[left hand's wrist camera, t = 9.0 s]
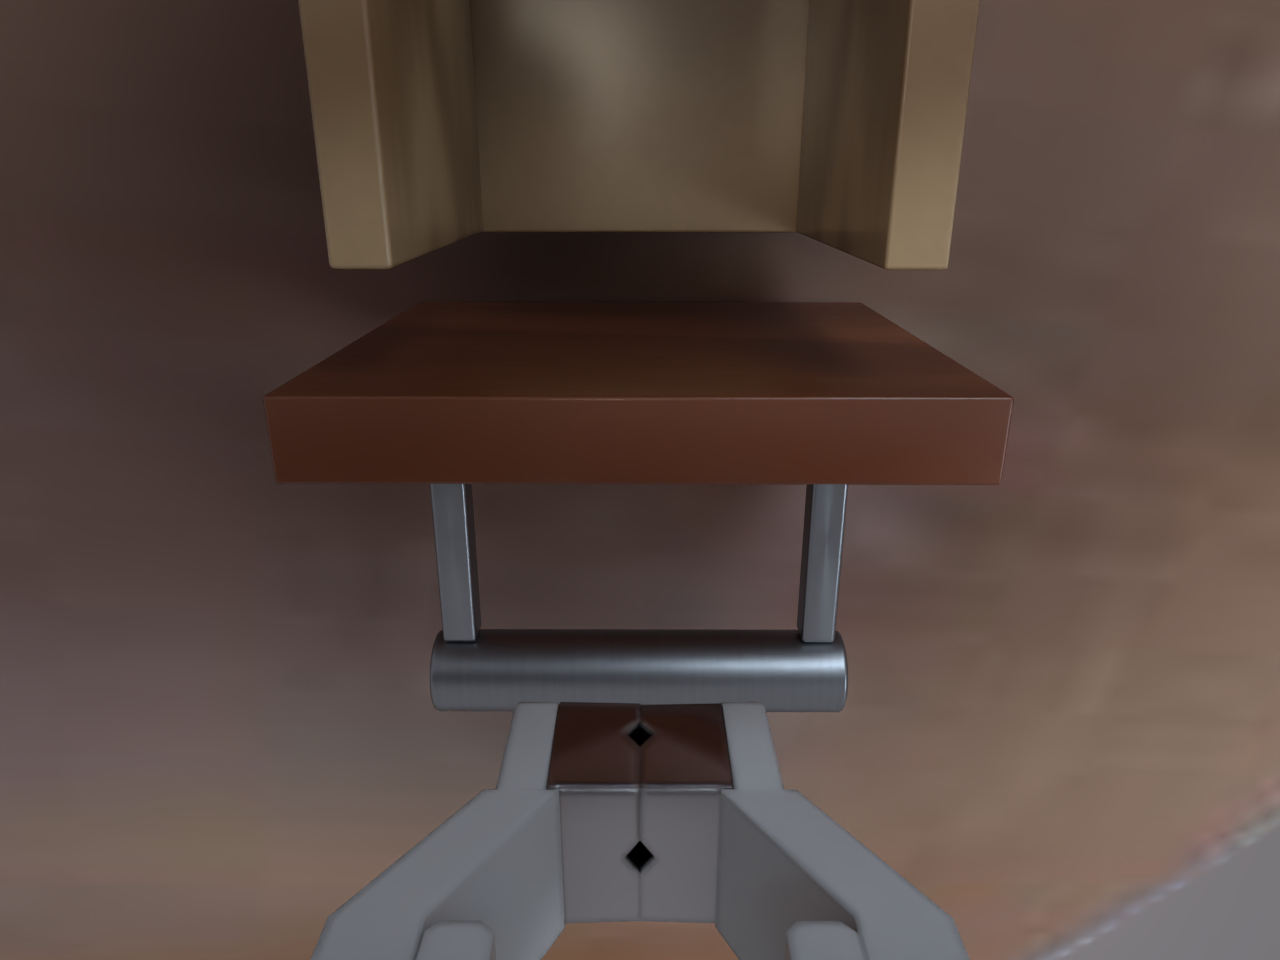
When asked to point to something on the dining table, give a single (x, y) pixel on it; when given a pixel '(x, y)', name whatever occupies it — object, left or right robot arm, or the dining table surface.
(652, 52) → the drawer
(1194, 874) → the dining table surface
